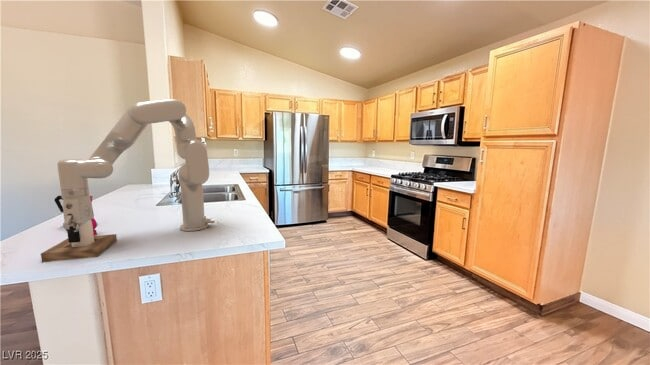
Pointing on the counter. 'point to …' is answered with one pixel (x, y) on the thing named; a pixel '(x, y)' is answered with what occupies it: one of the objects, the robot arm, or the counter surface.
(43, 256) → the socket board
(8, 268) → the counter surface
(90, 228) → the can
